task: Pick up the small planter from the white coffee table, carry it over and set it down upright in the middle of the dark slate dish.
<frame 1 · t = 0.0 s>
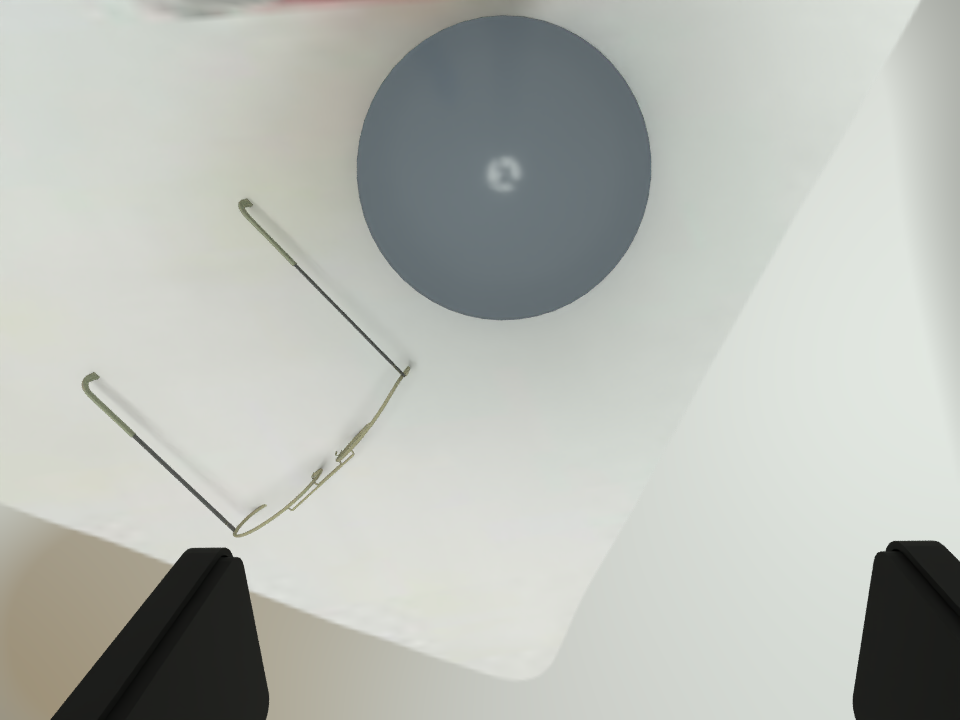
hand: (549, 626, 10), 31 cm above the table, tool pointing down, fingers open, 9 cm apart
dish: (502, 176, 38), on the table
eyeglasses: (260, 370, 44), on the table
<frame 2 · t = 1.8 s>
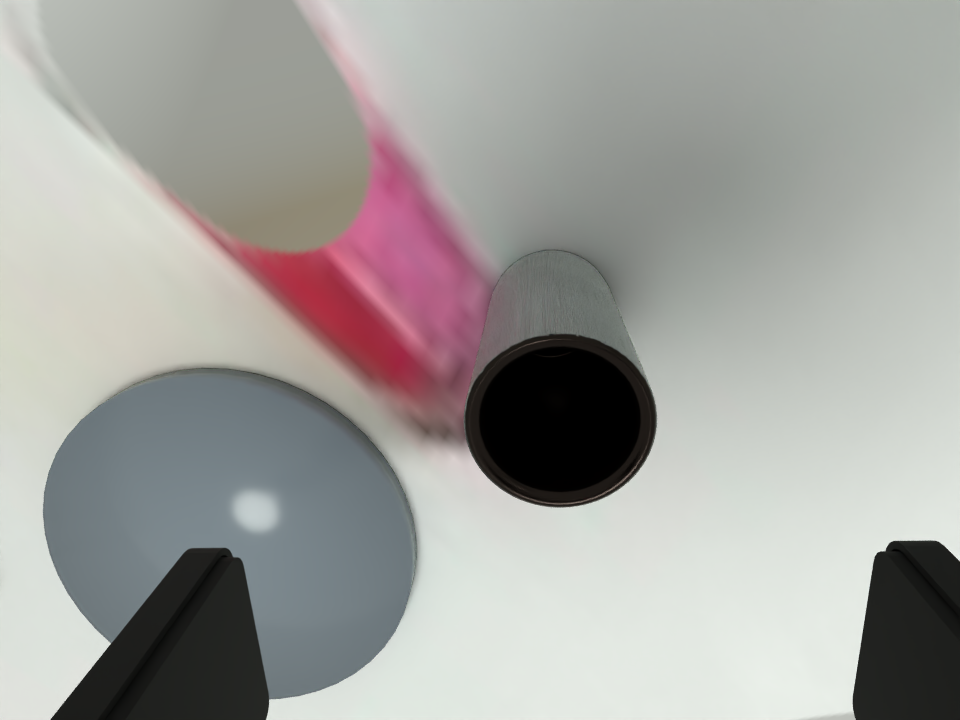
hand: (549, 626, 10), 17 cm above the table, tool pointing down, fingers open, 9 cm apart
dish: (237, 537, 30), on the table
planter: (550, 307, 26), on the table
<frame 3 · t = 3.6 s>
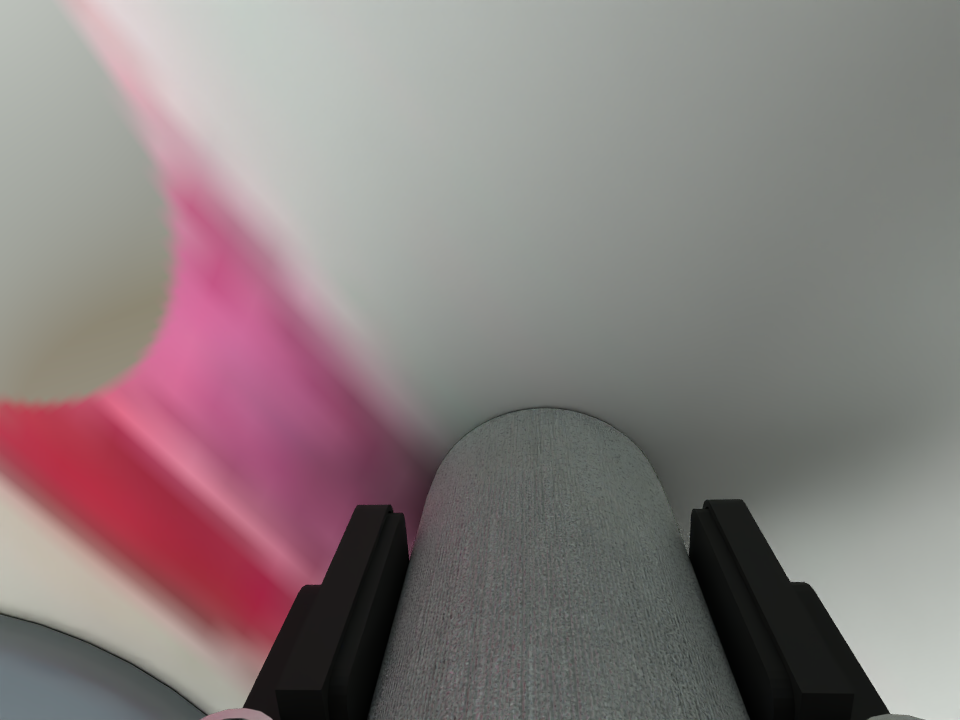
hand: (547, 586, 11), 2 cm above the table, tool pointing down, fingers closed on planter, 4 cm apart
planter: (544, 507, 13), on the table, touching gripper
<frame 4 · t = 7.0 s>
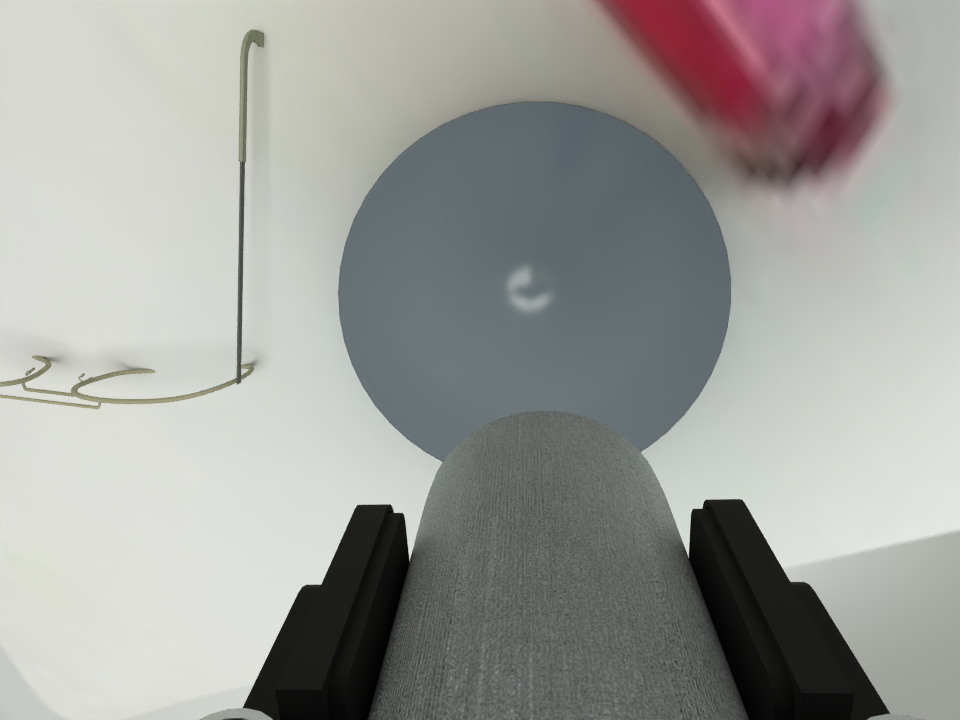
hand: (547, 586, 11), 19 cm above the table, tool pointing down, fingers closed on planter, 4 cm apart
dish: (530, 302, 29), on the table
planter: (544, 510, 13), point 17 cm above the table, touching gripper
eyeglasses: (88, 203, 30), on the table
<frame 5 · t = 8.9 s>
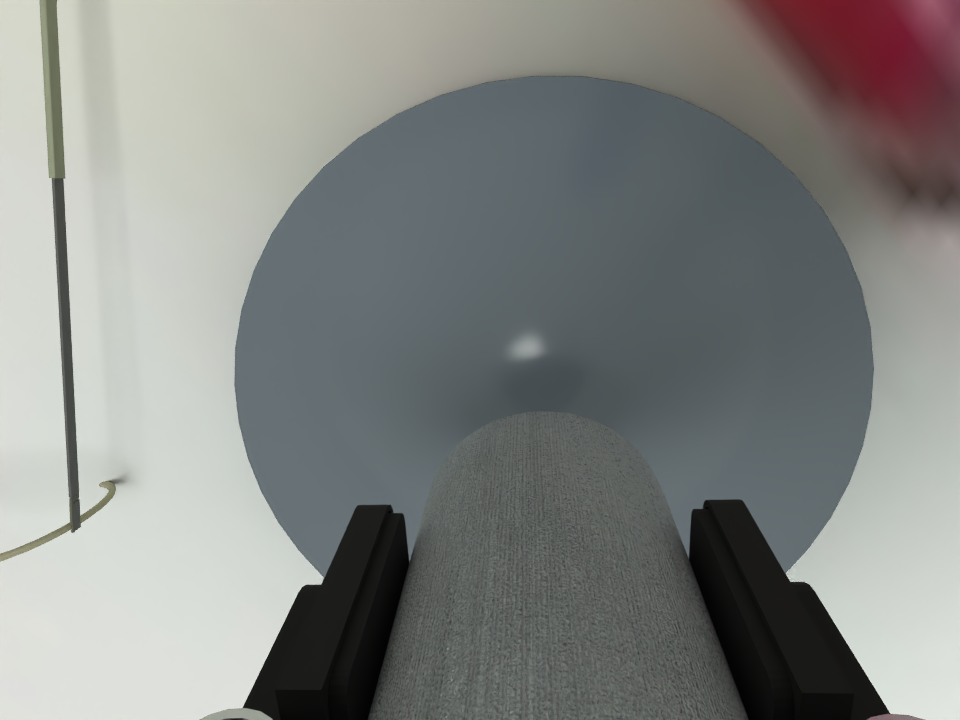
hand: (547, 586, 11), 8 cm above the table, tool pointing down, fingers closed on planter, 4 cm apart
dish: (542, 397, 19), on the table
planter: (544, 510, 13), point 6 cm above the table, touching gripper
when the fingers open (5 cm above the table, at t = 10.4 s): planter drops 1 cm, resting on dish.
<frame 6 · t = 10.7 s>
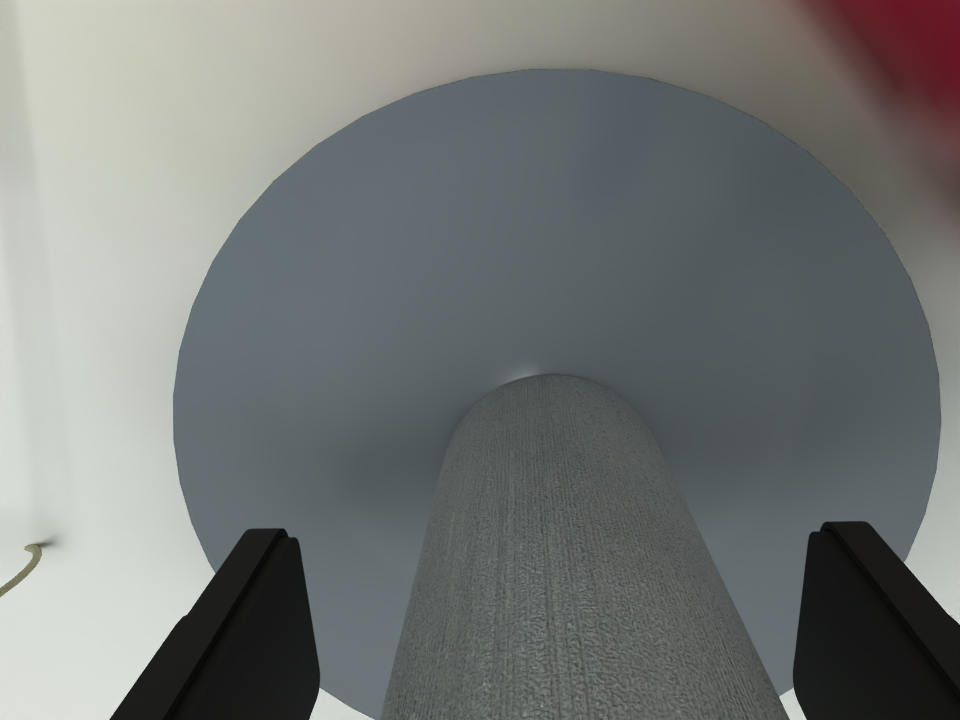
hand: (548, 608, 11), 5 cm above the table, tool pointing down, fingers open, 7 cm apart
dish: (540, 451, 16), on the table
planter: (550, 469, 15), point 1 cm above the table, touching dish
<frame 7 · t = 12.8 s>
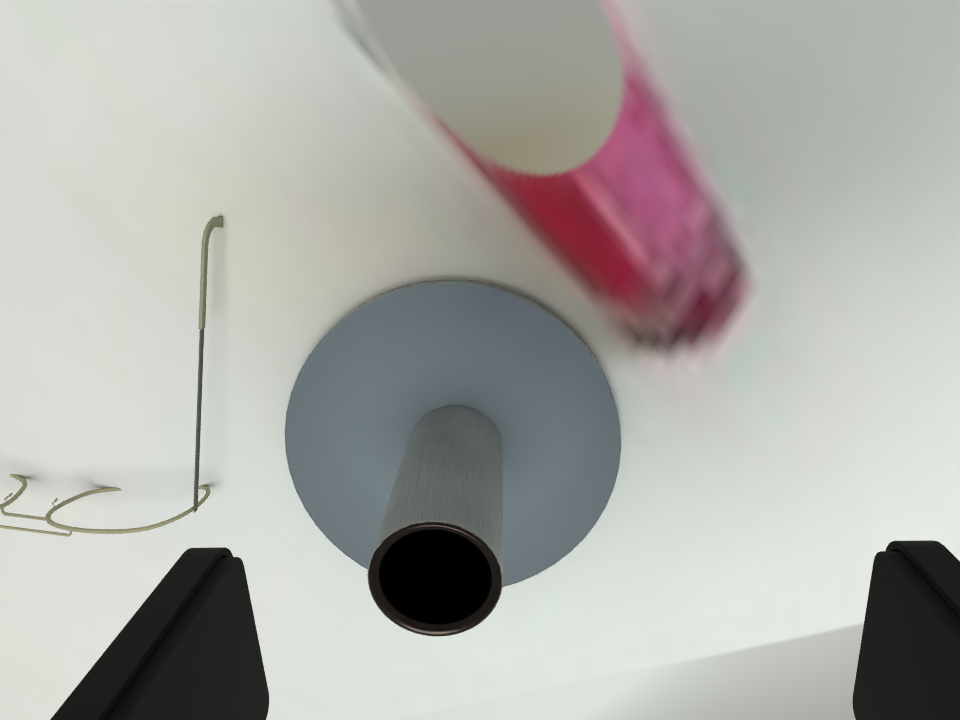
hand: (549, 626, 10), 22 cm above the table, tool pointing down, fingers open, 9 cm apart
dish: (453, 440, 34), on the table
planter: (455, 446, 33), point 1 cm above the table, touching dish
eyeglasses: (65, 345, 34), on the table
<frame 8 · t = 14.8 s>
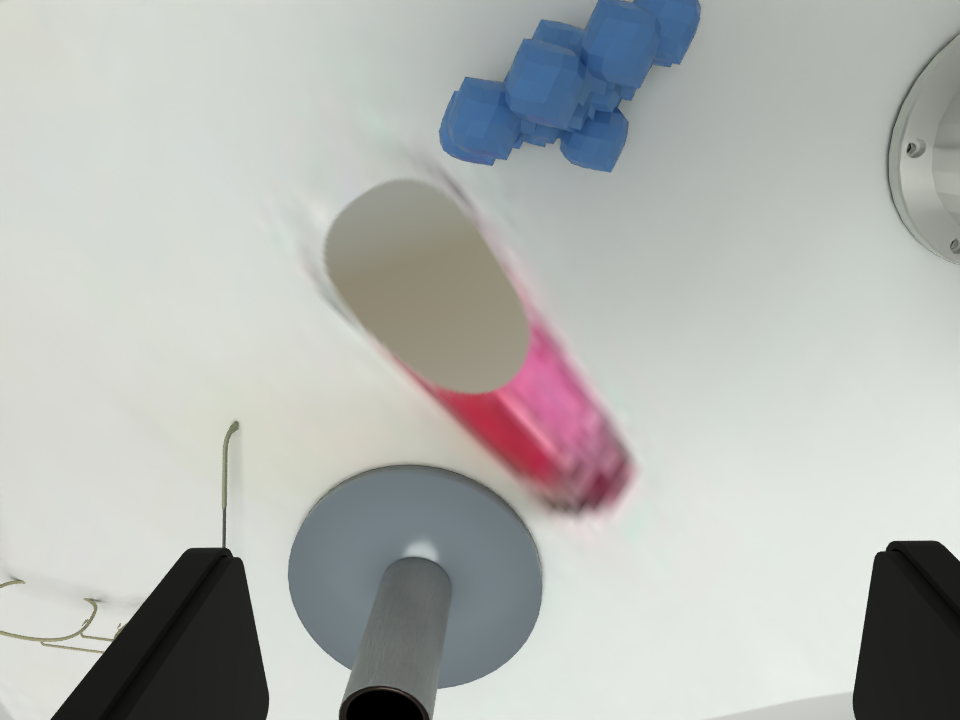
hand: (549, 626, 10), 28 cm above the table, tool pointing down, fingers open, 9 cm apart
dish: (416, 576, 44), on the table
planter: (416, 585, 43), point 1 cm above the table, touching dish
eyeglasses: (123, 506, 44), on the table
grapes: (567, 103, 34), on the table
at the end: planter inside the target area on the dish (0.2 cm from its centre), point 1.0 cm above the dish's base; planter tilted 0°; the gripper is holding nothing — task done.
